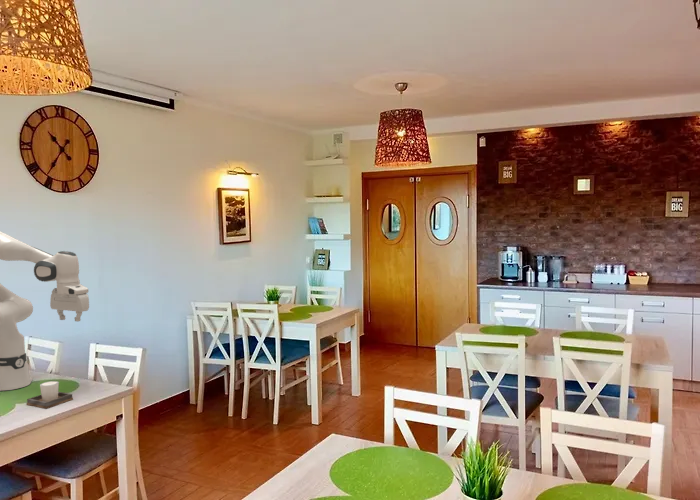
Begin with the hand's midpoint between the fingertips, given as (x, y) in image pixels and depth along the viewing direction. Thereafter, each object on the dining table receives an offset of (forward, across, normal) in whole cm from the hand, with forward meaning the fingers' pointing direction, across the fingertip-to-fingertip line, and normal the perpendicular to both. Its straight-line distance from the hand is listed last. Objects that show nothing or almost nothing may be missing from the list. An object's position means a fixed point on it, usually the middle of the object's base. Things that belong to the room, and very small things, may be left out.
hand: (70, 320), depth 237 cm
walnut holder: (+31, +4, -14) cm, 34 cm away
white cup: (+30, +4, -14) cm, 34 cm away
